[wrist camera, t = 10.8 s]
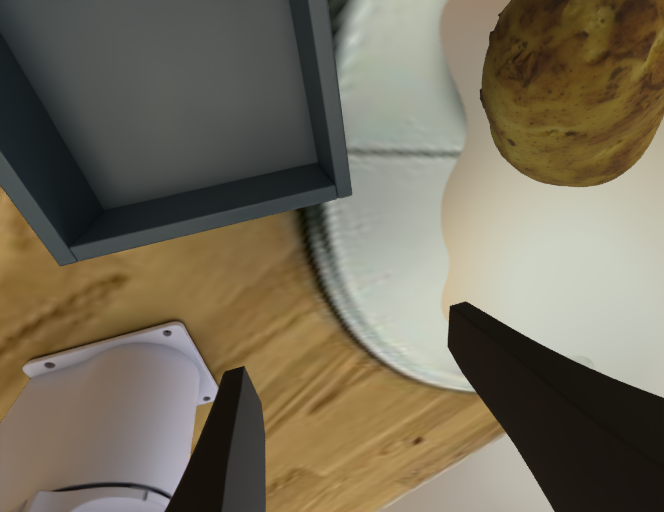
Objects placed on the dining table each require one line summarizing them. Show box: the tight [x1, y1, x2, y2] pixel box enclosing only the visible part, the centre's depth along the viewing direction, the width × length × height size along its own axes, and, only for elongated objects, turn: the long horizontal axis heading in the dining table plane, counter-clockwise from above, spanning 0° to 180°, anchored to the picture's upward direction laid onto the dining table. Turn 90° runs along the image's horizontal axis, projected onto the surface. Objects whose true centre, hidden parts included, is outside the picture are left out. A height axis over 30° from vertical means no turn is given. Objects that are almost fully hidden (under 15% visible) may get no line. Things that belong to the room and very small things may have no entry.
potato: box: [480, 0, 664, 187], centre depth 15 cm, size 8×13×8 cm, turn 32°
